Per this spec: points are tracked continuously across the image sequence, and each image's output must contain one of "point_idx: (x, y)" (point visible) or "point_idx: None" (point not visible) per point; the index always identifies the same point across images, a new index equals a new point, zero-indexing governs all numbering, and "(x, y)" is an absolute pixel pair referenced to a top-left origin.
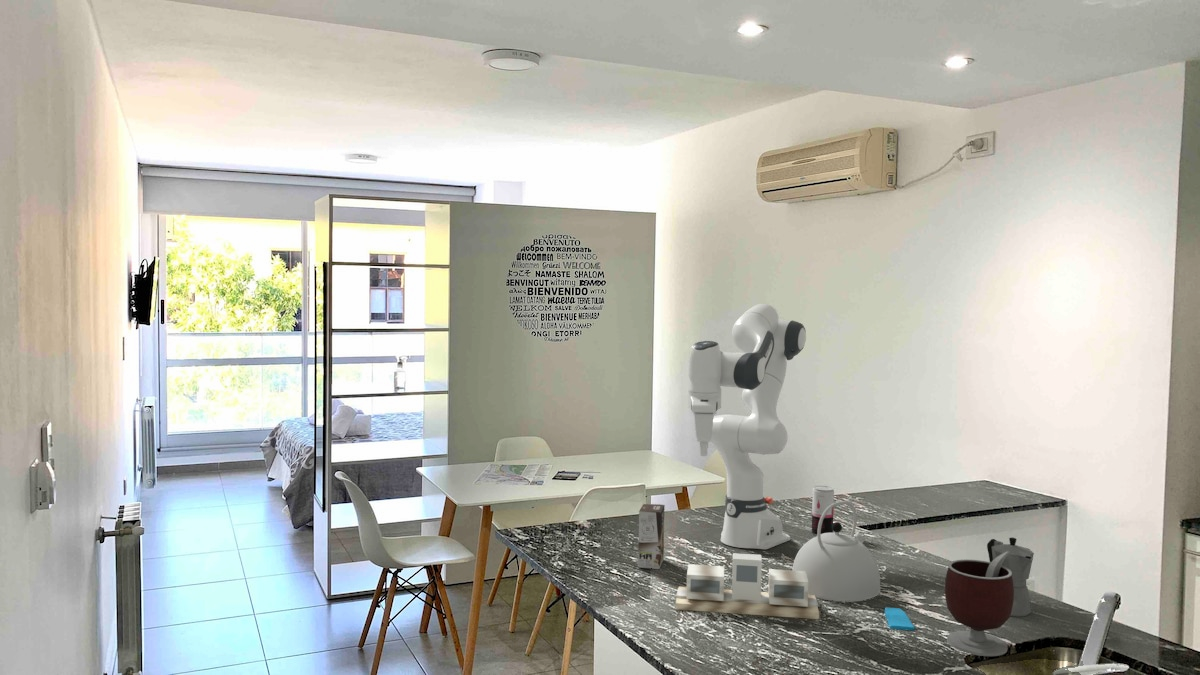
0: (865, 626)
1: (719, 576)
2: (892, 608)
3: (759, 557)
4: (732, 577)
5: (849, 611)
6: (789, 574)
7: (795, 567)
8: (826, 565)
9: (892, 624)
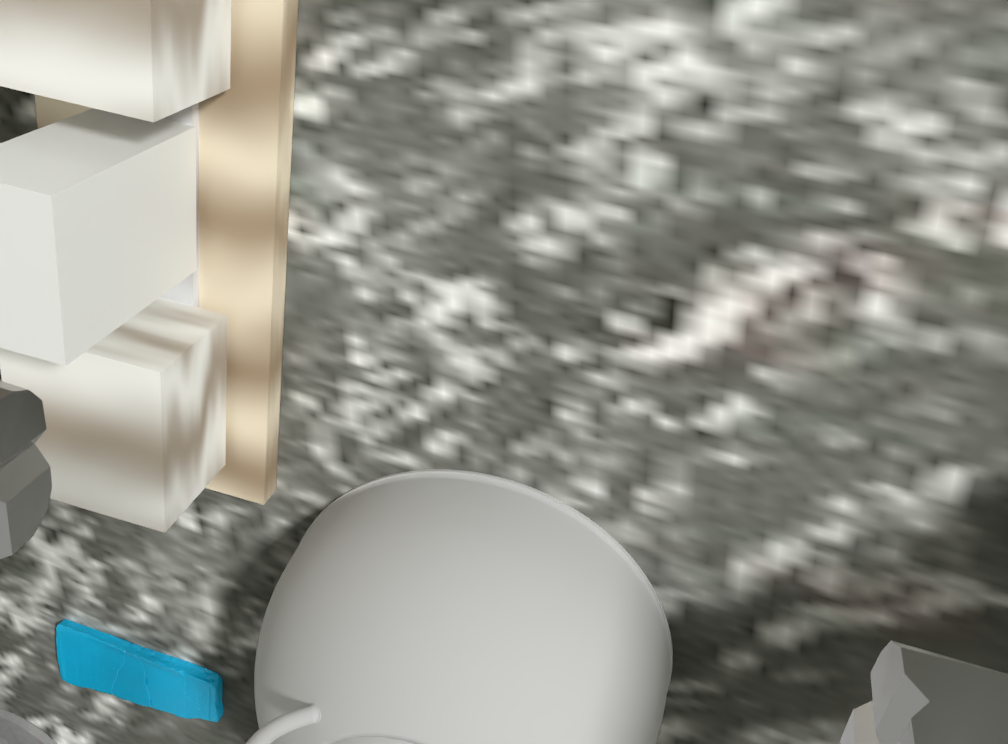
0: (58, 556)
1: None
2: (210, 700)
3: (11, 340)
4: (24, 135)
5: (188, 566)
6: (100, 445)
7: (425, 536)
8: (268, 648)
9: (66, 635)
